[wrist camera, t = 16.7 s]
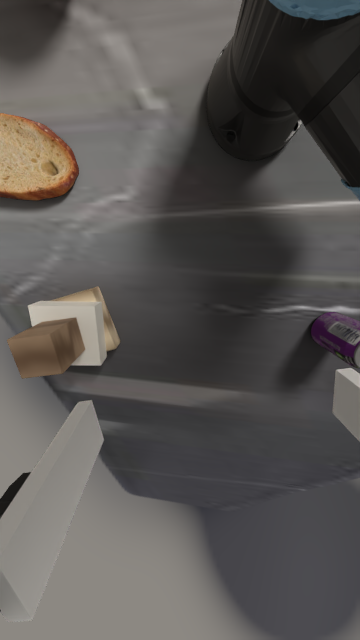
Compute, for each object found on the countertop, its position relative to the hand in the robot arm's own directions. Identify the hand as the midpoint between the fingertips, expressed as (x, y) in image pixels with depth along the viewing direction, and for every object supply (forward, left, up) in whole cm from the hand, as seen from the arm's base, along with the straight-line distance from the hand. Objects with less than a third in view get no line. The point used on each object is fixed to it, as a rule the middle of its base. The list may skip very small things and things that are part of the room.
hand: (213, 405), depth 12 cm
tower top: (+3, -22, -29) cm, 37 cm away
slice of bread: (-25, -26, -33) cm, 49 cm away
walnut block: (+3, -22, -26) cm, 34 cm away
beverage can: (+11, +27, -33) cm, 44 cm away
